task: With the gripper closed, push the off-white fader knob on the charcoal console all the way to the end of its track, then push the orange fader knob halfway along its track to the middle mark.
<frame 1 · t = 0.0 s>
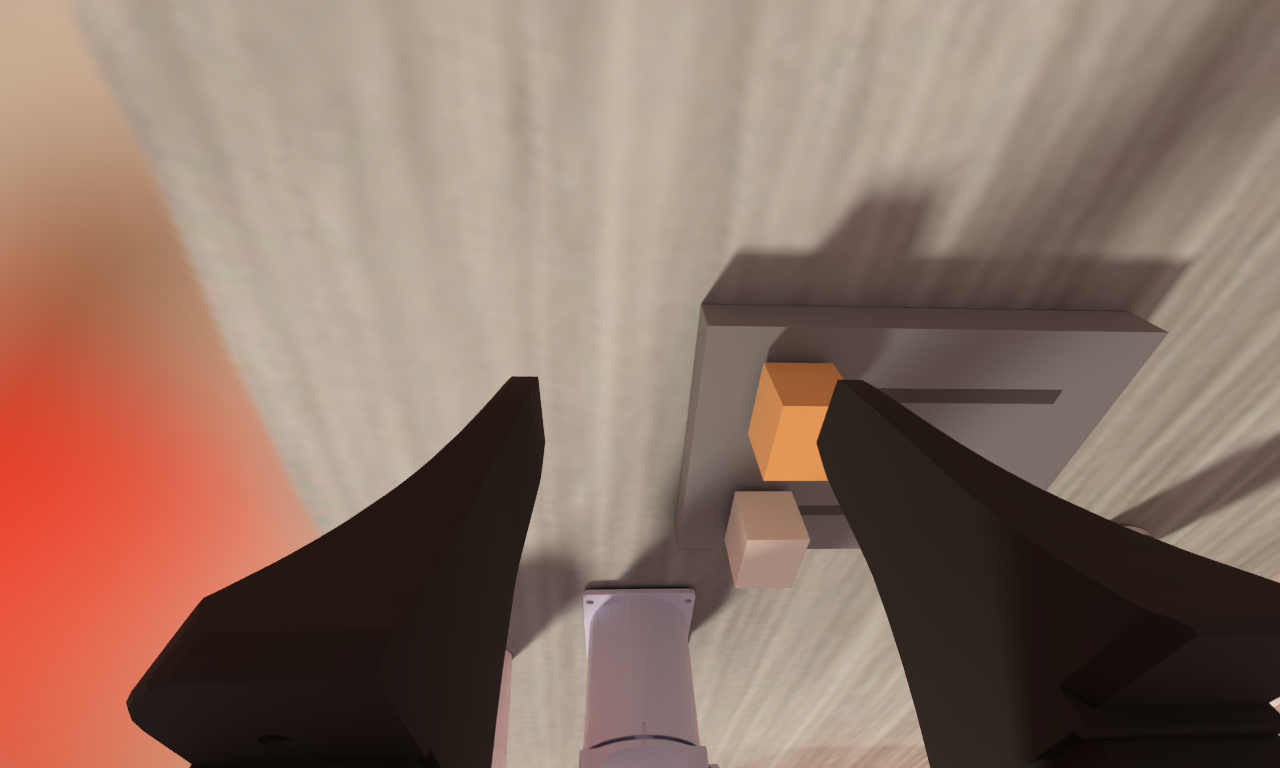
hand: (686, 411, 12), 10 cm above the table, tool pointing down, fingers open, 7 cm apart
smoothie: (490, 654, 39), on the table
fader console: (867, 432, 26), on the table
off white fader: (763, 539, 25), point 4 cm above the table, slide at 0.0 cm
orange fader: (798, 421, 20), point 4 cm above the table, slide at 0.0 cm
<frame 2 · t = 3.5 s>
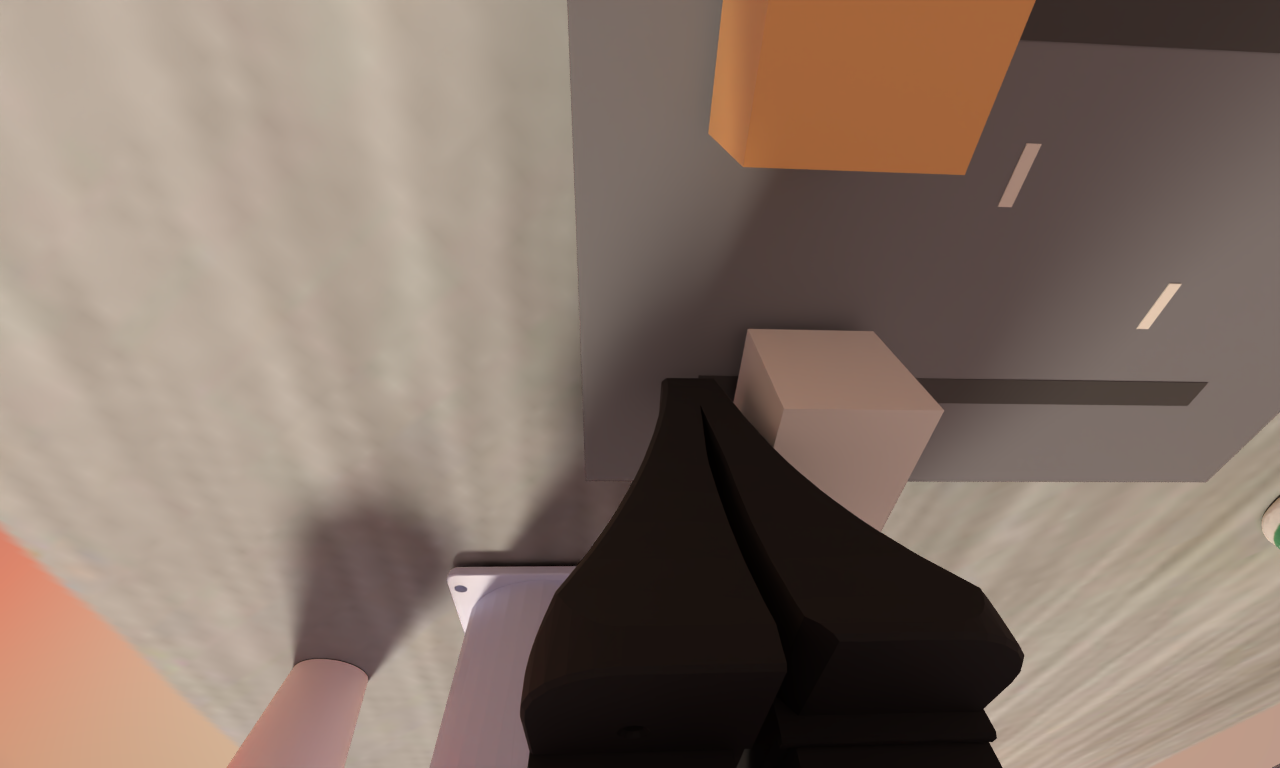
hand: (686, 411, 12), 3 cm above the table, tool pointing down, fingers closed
smoothie: (333, 671, 25), on the table
fader console: (974, 218, 12), on the table
off white fader: (810, 437, 11), point 4 cm above the table, slide at 1.4 cm, touching gripper
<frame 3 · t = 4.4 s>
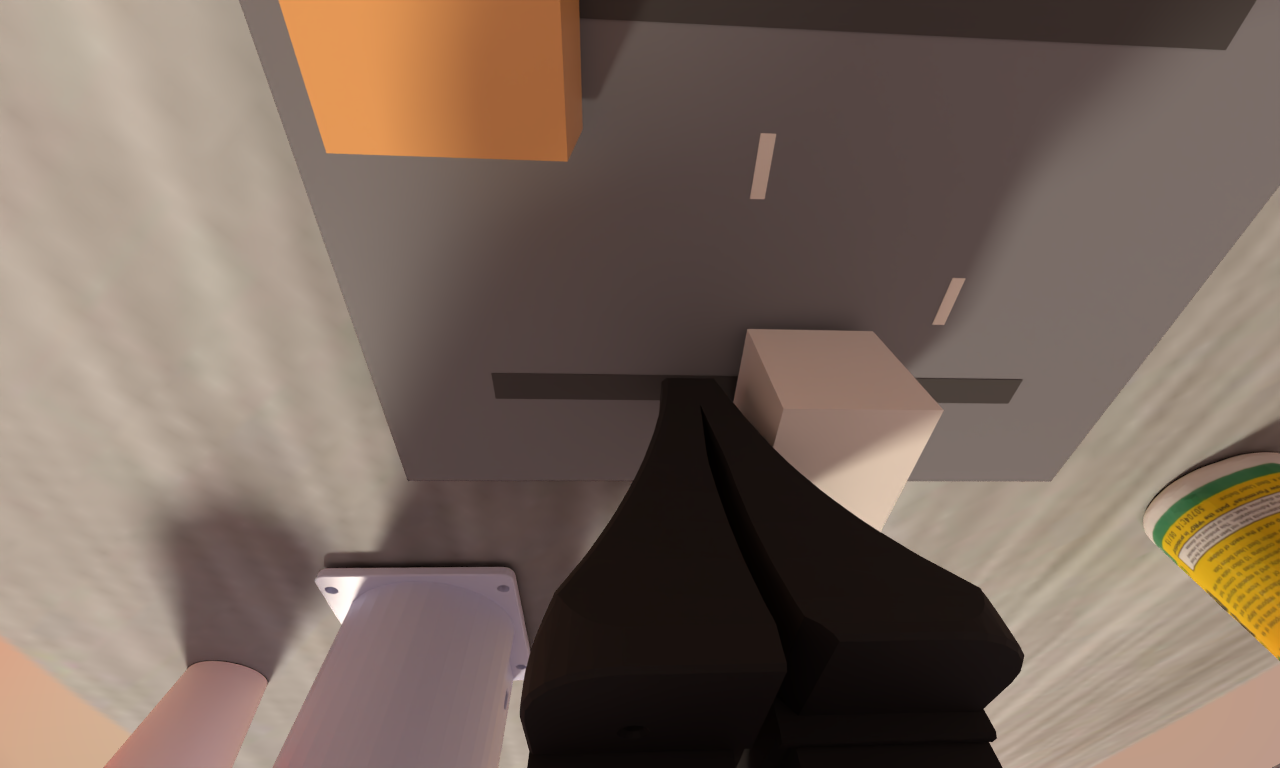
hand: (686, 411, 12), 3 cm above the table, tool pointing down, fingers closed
smoothie: (230, 673, 25), on the table
fader console: (771, 212, 12), on the table
supplement bottle: (1206, 492, 19), on the table
off white fader: (810, 436, 11), point 4 cm above the table, slide at 6.7 cm, touching gripper
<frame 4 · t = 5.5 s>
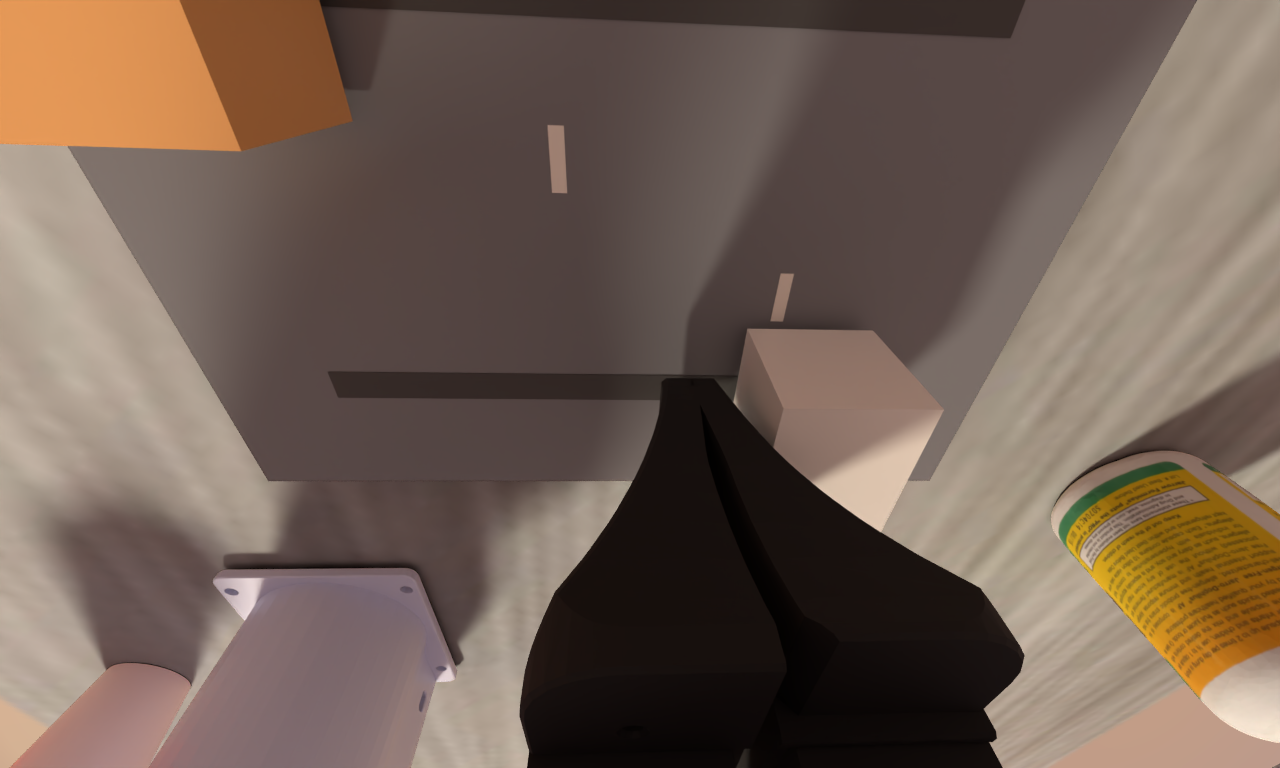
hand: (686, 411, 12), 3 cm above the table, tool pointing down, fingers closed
smoothie: (152, 675, 25), on the table
fader console: (611, 207, 12), on the table
supplement bottle: (1113, 491, 19), on the table
off white fader: (810, 436, 11), point 4 cm above the table, slide at 10.7 cm, touching gripper
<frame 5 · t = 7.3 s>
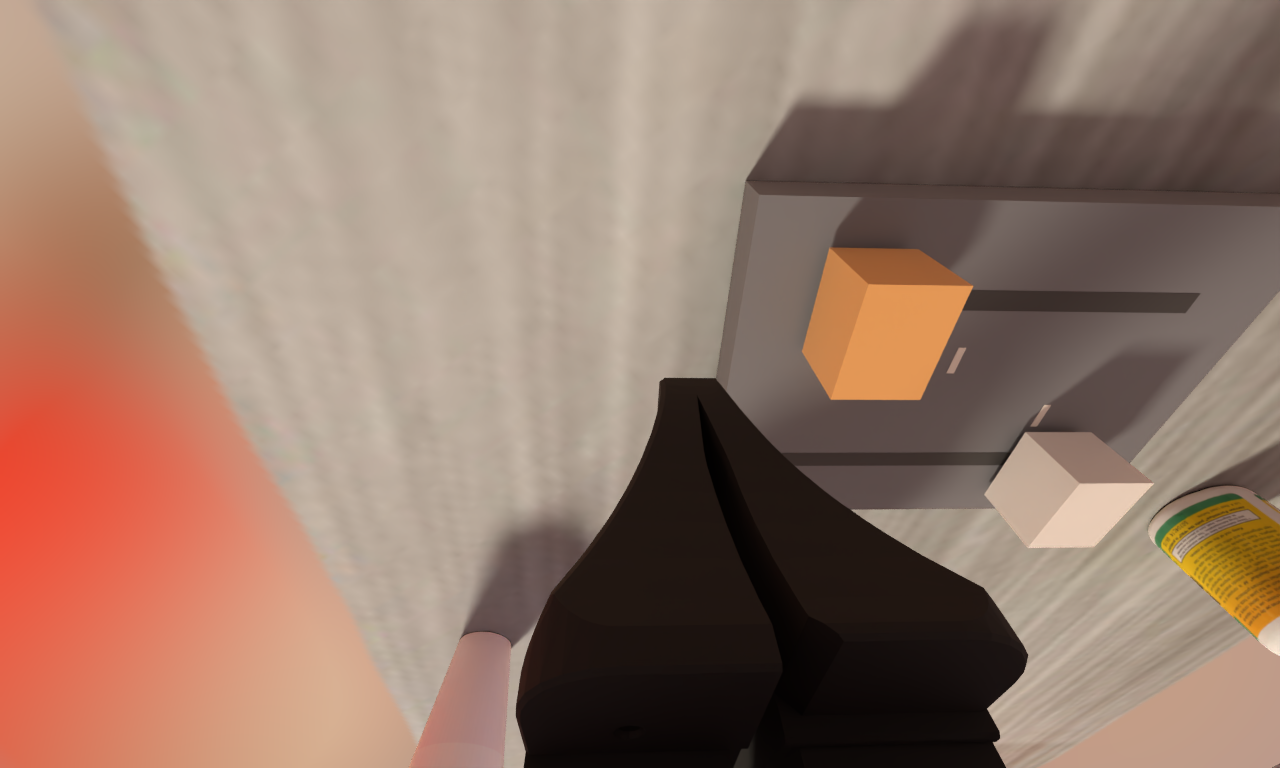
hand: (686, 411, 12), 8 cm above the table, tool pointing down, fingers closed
smoothie: (485, 641, 35), on the table
fader console: (938, 363, 21), on the table
supplement bottle: (1190, 510, 28), on the table
off white fader: (1059, 489, 21), point 4 cm above the table, slide at 10.8 cm
orange fader: (874, 323, 16), point 4 cm above the table, slide at 0.0 cm
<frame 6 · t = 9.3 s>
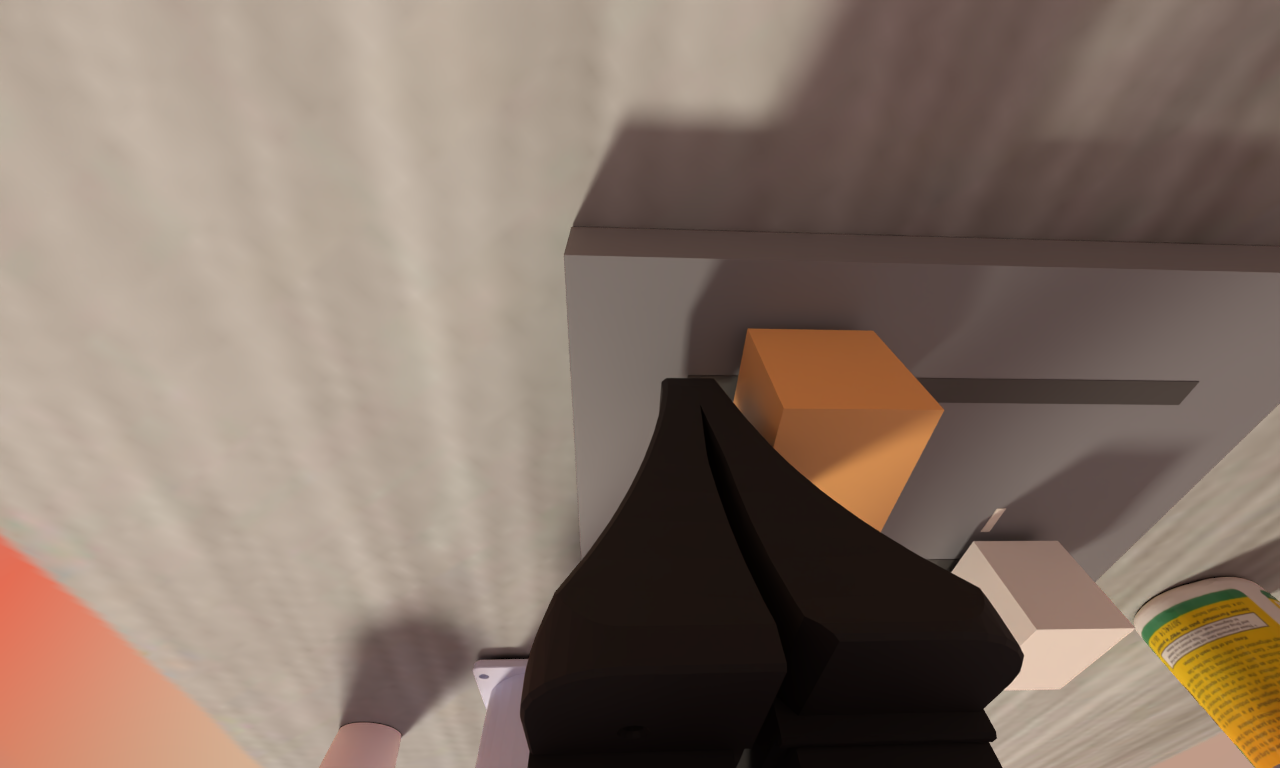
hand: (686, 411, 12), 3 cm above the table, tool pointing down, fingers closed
smoothie: (371, 730, 30), on the table
fader console: (866, 448, 17), on the table
supplement bottle: (1184, 600, 24), on the table
off white fader: (1016, 615, 16), point 4 cm above the table, slide at 10.8 cm
orange fader: (810, 436, 11), point 4 cm above the table, slide at 1.7 cm, touching gripper
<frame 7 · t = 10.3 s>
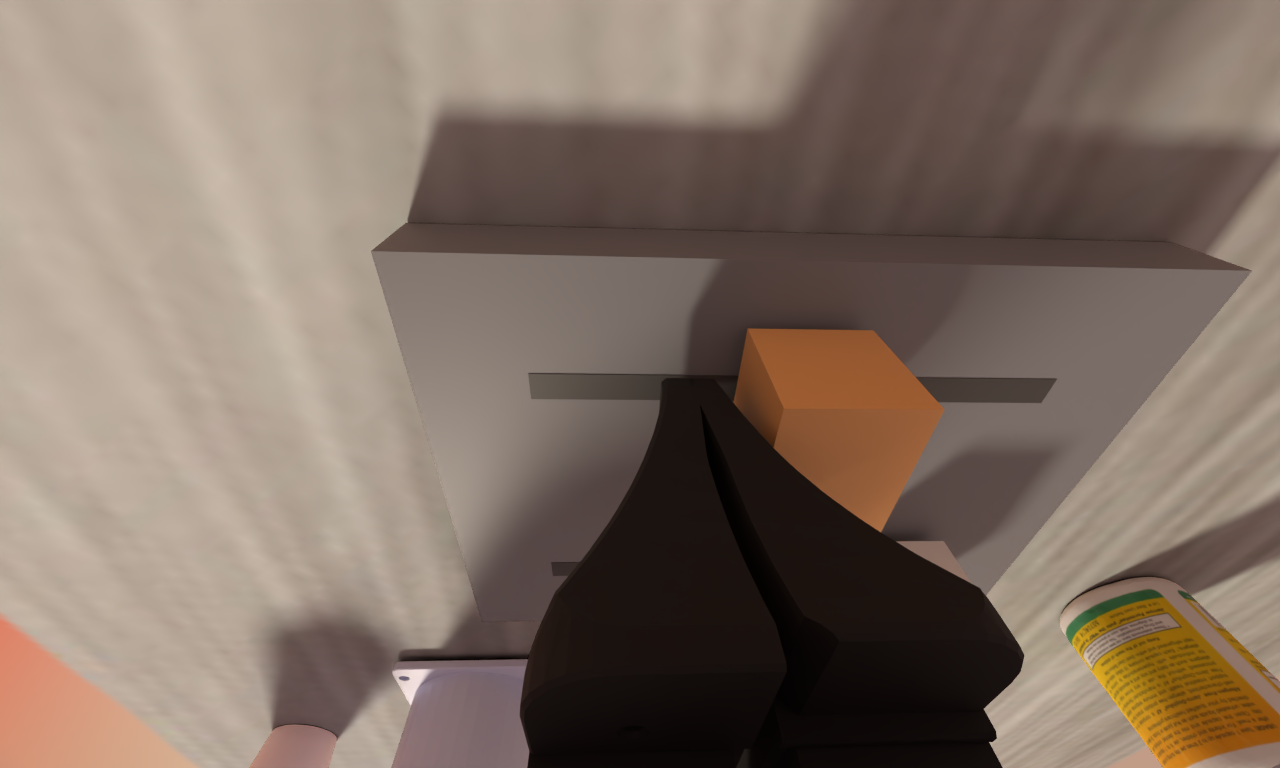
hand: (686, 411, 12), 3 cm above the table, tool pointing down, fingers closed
smoothie: (306, 732, 30), on the table
fader console: (752, 448, 16), on the table
supplement bottle: (1109, 600, 24), on the table
off white fader: (901, 616, 16), point 4 cm above the table, slide at 10.8 cm
orange fader: (811, 436, 11), point 4 cm above the table, slide at 5.8 cm, touching gripper
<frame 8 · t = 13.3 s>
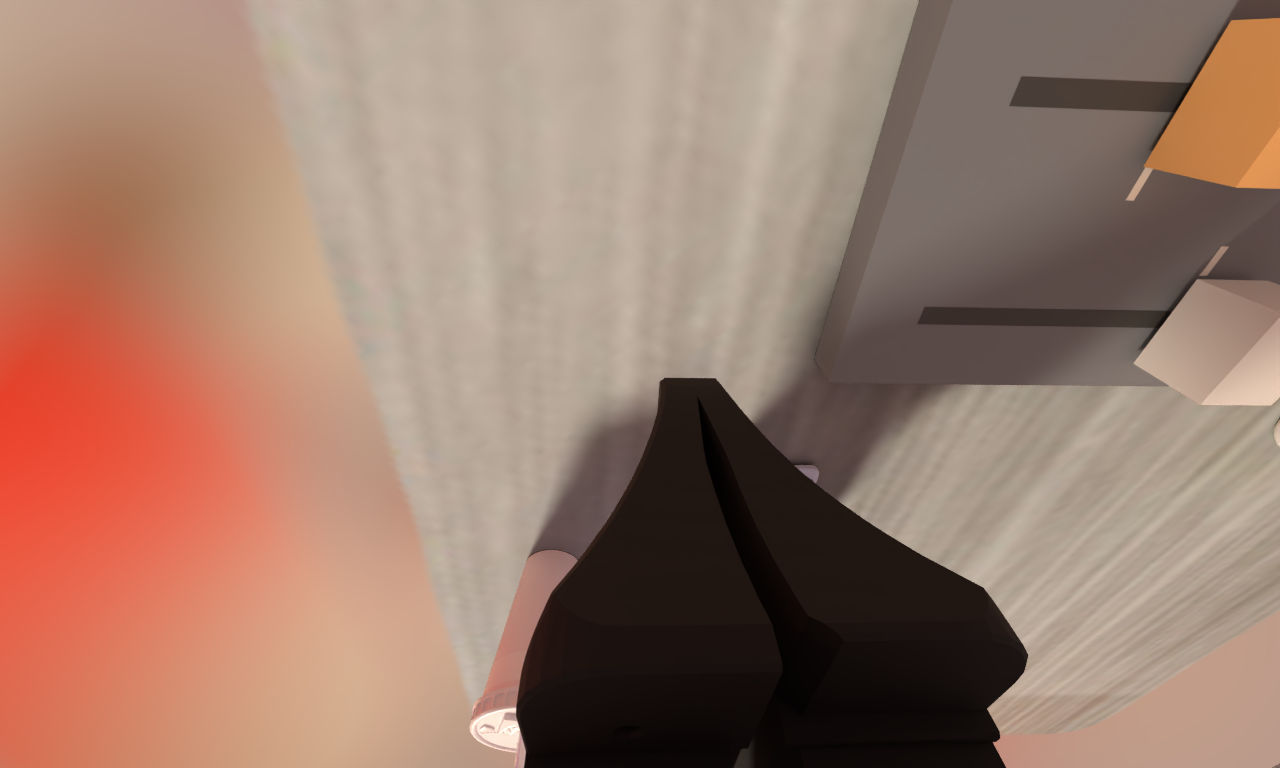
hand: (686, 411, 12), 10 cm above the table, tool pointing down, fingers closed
smoothie: (553, 563, 33), on the table
fader console: (1097, 208, 19), on the table
off white fader: (1234, 342, 19), point 4 cm above the table, slide at 10.8 cm
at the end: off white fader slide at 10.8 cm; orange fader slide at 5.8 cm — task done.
